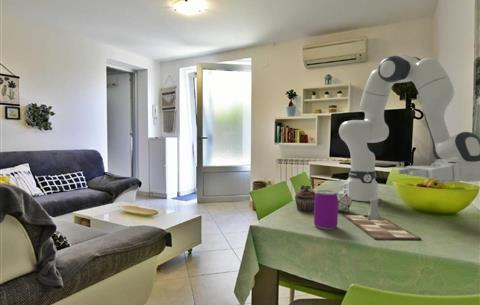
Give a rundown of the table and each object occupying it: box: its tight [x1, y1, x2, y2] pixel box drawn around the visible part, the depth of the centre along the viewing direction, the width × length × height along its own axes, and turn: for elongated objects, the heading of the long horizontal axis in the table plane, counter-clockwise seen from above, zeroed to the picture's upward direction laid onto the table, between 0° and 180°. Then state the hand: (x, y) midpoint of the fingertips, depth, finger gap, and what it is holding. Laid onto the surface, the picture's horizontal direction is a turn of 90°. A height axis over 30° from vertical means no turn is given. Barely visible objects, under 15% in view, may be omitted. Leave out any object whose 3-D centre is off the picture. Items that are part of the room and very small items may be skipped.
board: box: [342, 214, 422, 241], centre depth 101 cm, size 26×14×1 cm, turn 1°
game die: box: [336, 192, 356, 213], centre depth 120 cm, size 9×8×10 cm
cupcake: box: [294, 185, 317, 213], centre depth 123 cm, size 10×10×10 cm
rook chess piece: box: [366, 197, 381, 220], centre depth 109 cm, size 4×4×8 cm
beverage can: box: [313, 189, 339, 231], centre depth 99 cm, size 8×8×12 cm
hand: (404, 172), depth 108 cm, fingers open, 8 cm apart
